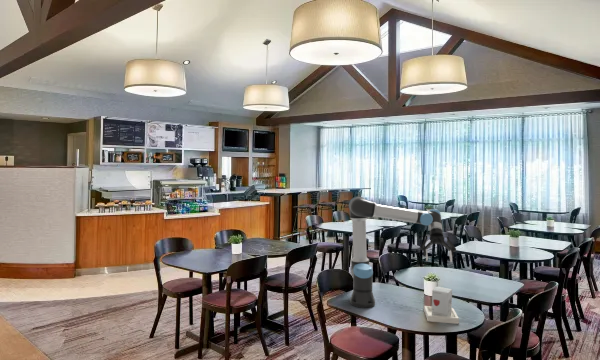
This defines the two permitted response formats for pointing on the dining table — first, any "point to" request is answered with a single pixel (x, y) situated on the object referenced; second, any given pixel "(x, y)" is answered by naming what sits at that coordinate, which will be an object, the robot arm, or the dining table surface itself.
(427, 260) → the robot arm
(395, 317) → the dining table surface
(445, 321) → the stoneware dish
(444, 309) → the supplement box
